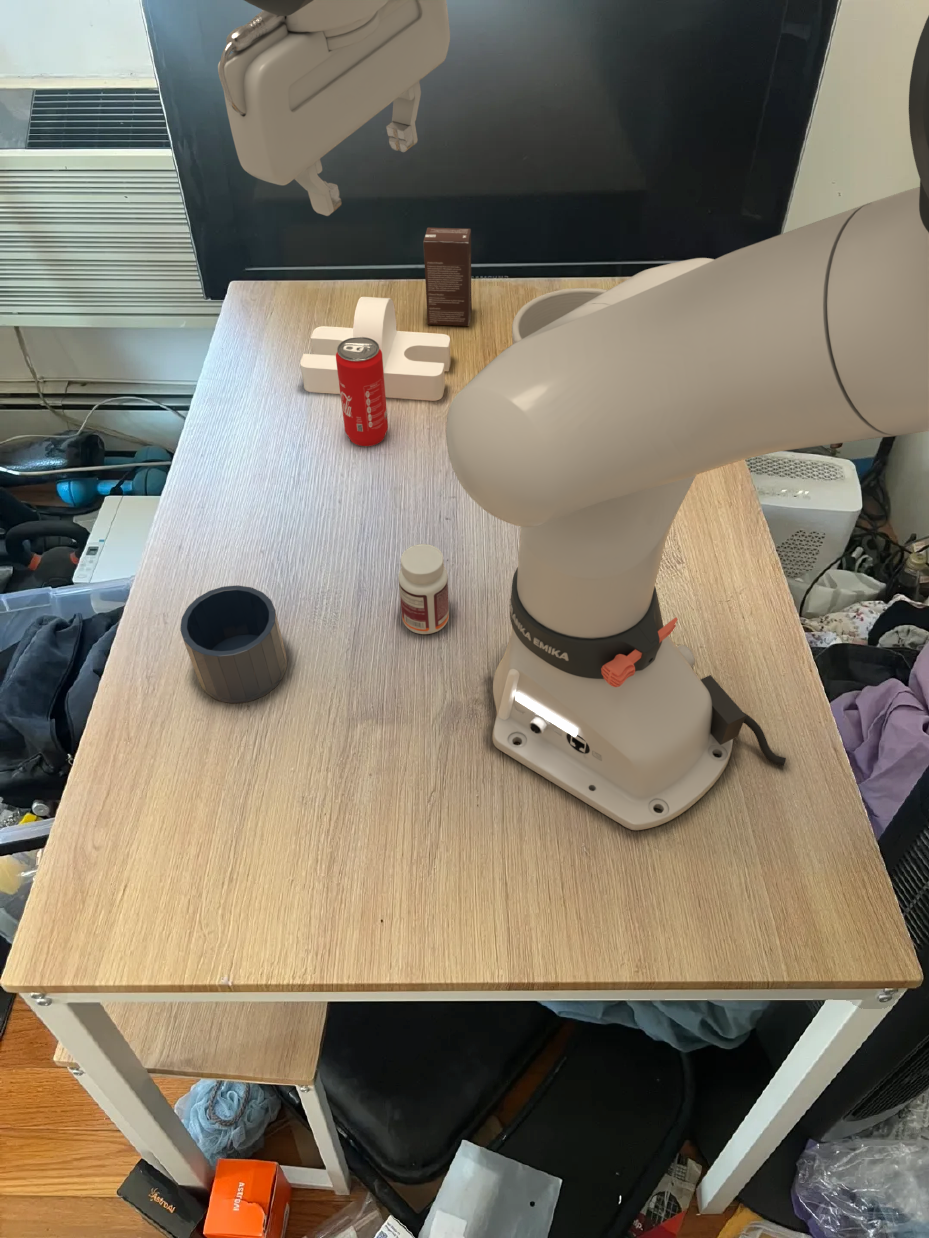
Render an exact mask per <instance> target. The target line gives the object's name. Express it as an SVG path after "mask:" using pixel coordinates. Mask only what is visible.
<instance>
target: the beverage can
mask: <svg viewBox="0 0 929 1238" xmlns="http://www.w3.org/2000/svg"><path fill="white" fill-rule="evenodd" d="M336 363H337V371H338V379H339V387H340V394H339V395H340V401H341V411H342V418H343V426H344V432H345V434H346V435H347V437H348V438H349V441H350V442H351V443H352V444H354V445H356V446H358V447H363V448H365V447H366V448H367V447H374V446H377V445H379V444H380V443H382V442H383V441H384V439H385V438H386V434H387V431H388V429H389V423H388V421H389V420H388V410H387V399H386V398H387V397H386V396H385V384H384V371H383V359H382V352H381V350H380V348H379V345H378V343H377V342H376V341H375V340H373V339H370V338H367V337H353V338H349V339H346V340H344V341H342V342H341V343H340V344H339V345H338V348H337V353H336Z"/></svg>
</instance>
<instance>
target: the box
mask: <svg viewBox="0 0 929 1238" xmlns="http://www.w3.org/2000/svg"><path fill="white" fill-rule="evenodd" d="M422 242H423V244H422V245H423V262H424V276H425V277H424V279H425V281H424V282H425V299H426V302H425V303H426V321H427V325H437V326H463V327H465V326H466V327H469V326H470V323H471V316H472V305H473V304H472V229H471V228H451V227H446V228H445V227H427V228H426V231H425V235H424V238H423V240H422Z"/></svg>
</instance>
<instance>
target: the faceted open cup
mask: <svg viewBox="0 0 929 1238" xmlns="http://www.w3.org/2000/svg"><path fill="white" fill-rule="evenodd" d="M179 629H180V633H181V637H182V639H183V642H184V645H185V648H186V650H187V654H188V656H189V659H190V661H191V665H192V667H193V670H194V673H195V675H196V678H197V681H198V683H199V685H200V687H201V689H202V690H203V692H205V693H206V695H208V696H209V697H211V698H213V699H215V700H217V701H220V702H223V703H227V704H243V703H249V702H251V701H252V702H253V701H255V700H258V699H260V698H262V697H264V696H266V695H268V694H270V692H272V691H273V690H274V689H275V688H276V687H277V686H278V685H279V684H280V683H281V681H282V679H283V678H284V676H285V673H286V671H287V665H288V660H287V651H286V648H285V644H284V640H283V636H282V631H281V628H280V623H279V618H278V615H277V611H276V608H275V606H274V602H273V600H272V599H270V597H268V596H267V594H265V592H263V591H261V590H258V589H256V588H254V587H251V586H246V585H245V586H244V585H239V584H238V585H226V586H220V587H217V588H214V589H210V590H208V591H207V592H205V593H203V594H201V595H199V596H197V598H195V599H194V600H193V601H192V602H191V603H190V604H189V605H188V606H187V607H186V609H185V611H184V613H183V615H182V617H181V619H180V628H179Z"/></svg>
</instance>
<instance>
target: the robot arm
mask: <svg viewBox="0 0 929 1238" xmlns="http://www.w3.org/2000/svg"><path fill="white" fill-rule="evenodd" d="M243 1H244V2H246V3H248V4H250V5H251V6H254V7H256V8H258V9H260V10H261V12H258V13H257V14H256V15H255V16H254V17H253V18H252V19H250V20H249V21H248V22H247V23H245V24H244V25H240V26H238V27H235V28H234V29H233V30H232V31H231V32H230V33H229V34H228V35H226V39H225V41H226V42H225V43H226V44H225V46H224V48H223V50H222V52H221V55H220V60H219V62H218V64H217V72H218V77H219V81H220V83H221V84H220V85H221V87H222V91H223V94H224V95H223V96H224V102H225V107H226V112H227V118H228V122H229V127H230V131H231V135H232V139H233V143H234V147H235V151H236V155H237V158H238V161H239V164H240V166H241V167H242V169H243V170H244V171H245V172H247V174H249V175H250V176H252V177H253V178H256V179H258V180H261V181H264V182H267V183H270V184H274V185H278V186H287V185H288V184H289V183H291V182H292V181H295V182H297V183H298V184H299V185H300V186H301V187H302V188H303V189H304V190H305V191H307V194H308V198H309V200H310V204H311V207H312V209H313V211H314V212H316V213H317V214H320V215H323V216H325V217H329V216H330V215H331V214H333V213H335V211H336V210H337V209H339V208H340V207H341V206H342V204H343V202H342V198H341V197H340V190H339V186H338V184H336V183H333V182H327V181H326V180H323V179H322V178H321V177H320V175H319V174H320V173H322V172H323V165H322V161H321V158H323V157H325V155H327V154H328V153H329V152H330V151H332V150H333V149H334V148H336V147H337V146H338V145H339V144H340V143H342V142H343V141H344V140H346V139H347V138H348V137H349V136H351V135H352V134H354V133H355V132H356V131H357V130H359V129H360V128H361V127H363V126H364V125H365V124H366V123H368V122H369V121H370V120H372V119H373V118H374V117H375V116H376V115H378V114H379V113H380V112H382V111H383V110H385V109H386V108H387V107H388V106H389V105H390V104H392V113H391V114H392V115H391V116H392V117H391V122H390V123H388V124H387V125H386V126H385V128H386V134H387V136H388V144H389V146H390V148H391V149H392V150H393V151H400V152H401V153H406V152H407V151H408V150H410V149H411V148H412V147H414V146H415V145H416V144H417V143H418V141H419V139H418V133H417V127H416V121H417V118H418V117H417V116H418V111H419V108H420V107H419V106H420V101H421V95H422V90H421V84H420V81H422V79H424V78H425V77H426V76H427V75H429V74H430V73H431V72H432V71H434V70H435V69H437V68H438V67H439V66H440V65H442V64H444V62H445V60H446V58H447V55H448V52H449V47H450V42H451V30H450V29H451V28H450V20H449V12H448V3H447V0H243ZM231 52H232V53H231ZM911 67H912V68H911V73H910V79H909V88H908V89H909V90H908V123H909V124H908V125H909V137H910V142H911V148H912V154H913V158H914V162H915V163H914V164H915V166H916V171H917V174H918V177H919V186H917V187H914V188H911V189H907V190H904V191H900V192H898V193H894V194H892V195H888V196H886V197H882V198H879V199H876V200H873V201H870V202H867V203H865V204H862V205H859V206H856V207H854V208H851V209H848V210H845V211H842V212H840V213H837V214H834V215H831V216H828V217H826V218H825V217H824V218H823V219H819V220H818V221H815V222H814V221H813V222H811V223H809V224H806V225H803V226H800V227H797V228H795V229H792V230H790V231H787V232H784V233H780V234H777V235H774V236H772V237H770V238H767V239H764V240H761V241H758V242H755V243H753V244H750V245H747V246H745V247H741V248H739V249H736V250H733V251H731V252H729V253H726V254H723V255H721V256H719V257H717V258H715V259H714V258H709V257H708V258H707V257H695V258H690V259H685V260H680V261H675V262H671V263H667V264H663V265H659V266H655V267H650V268H648V269H644V270H642V271H639V272H638V273H635V274H634V275H632V276H631V277H629V278H627V279H625V280H623V281H622V282H620V283H618V284H616V285H615V286H613V287H611V288H609V289H607V290H608V291H606V292H604V293H602V294H601V295H599V296H597V297H595V298H593V299H592V300H590V301H588V302H586V303H585V304H583V305H581V306H579V307H578V308H576V309H574V310H573V311H571V312H569V313H567V314H566V315H564V316H562V317H560V318H559V319H557V320H555V321H553V322H552V323H550V324H548V325H546V326H544V327H543V328H541V329H539V330H537V331H536V332H534V333H532V334H530V335H529V336H527V337H525V338H523V339H522V340H520V341H518V342H516V343H515V344H513V343H512V344H511V345H509V346H508V347H506V348H505V349H503V350H502V351H501V352H500V353H499V354H498V355H496V356H495V357H494V358H493V359H492V360H491V361H490V362H489V363H487V364H486V365H485V366H484V367H483V368H482V369H481V370H480V371H479V372H478V373H476V374H475V376H474V377H472V379H470V381H469V382H468V383H466V384H465V385H464V387H462V388H461V390H460V391H459V392H457V393H456V395H455V396H454V397H453V399H452V401H451V402H450V404H449V407H448V411H447V414H446V422H445V423H446V424H445V439H446V448H447V449H446V451H447V454H448V458H449V461H450V464H451V468H452V470H453V472H454V475H455V477H456V478H457V480H458V482H459V484H460V486H461V487H462V488H463V490H464V491H465V492H466V494H467V495H468V496H469V497H470V499H472V501H473V502H474V503H475V504H477V506H479V507H480V508H481V509H482V510H484V511H485V512H487V514H489V515H491V516H493V517H494V518H496V519H498V520H500V521H502V522H504V523H507V524H510V525H513V526H516V527H519V528H520V529H519V543H518V558H517V559H518V560H517V567H516V569H515V570H514V571H515V572H514V573H513V577H512V581H511V590H510V598H509V603H508V605H509V619H510V624H511V629H510V633H509V634H510V635H509V639H508V643H507V645H506V648H505V652H504V653H503V656H502V659H501V660H500V661H499V663H498V665H497V667H496V670H495V673H494V676H493V681H492V695H493V702H494V705H495V710H496V718H495V721H494V726H493V730H492V735H491V739H492V743H493V746H494V747H495V748H496V749H497V750H499V751H500V752H502V753H504V754H505V755H507V756H509V757H510V758H512V759H513V760H515V761H517V762H518V763H520V764H522V765H524V766H525V767H527V768H528V769H529V770H531V771H533V772H535V773H536V774H539V775H540V776H541V777H543V778H544V779H546V780H548V781H549V782H552V783H553V784H554V785H555V786H558V787H559V788H561V789H562V790H564V791H566V792H568V793H569V794H570V795H572V796H574V797H575V798H577V799H579V800H580V801H582V802H583V803H585V804H587V805H589V806H590V807H591V808H593V809H595V810H597V811H598V812H600V813H601V814H603V815H605V816H606V817H608V818H610V819H611V820H613V821H615V822H617V823H618V824H620V825H621V826H622V827H625V828H627V829H629V830H631V831H641V830H648V829H652V828H655V827H658V826H661V825H663V824H666V823H668V822H671V821H672V820H673V819H676V818H677V817H678V816H680V815H682V814H683V813H684V812H686V811H688V810H689V809H690V808H691V807H692V806H694V805H695V804H696V803H697V802H698V801H699V800H700V799H702V797H703V796H705V795H706V794H707V792H708V791H709V790H710V789H711V788H712V787H713V786H714V785H715V783H716V782H717V781H718V780H719V779H720V777H721V776H722V774H723V772H724V771H725V769H726V767H727V765H728V763H729V761H730V757H731V754H732V748H733V741H734V739H736V738H738V737H739V735H740V732H741V730H742V727H743V725H746V727H748V728H749V729H750V730H751V731H752V733H753V734H754V736H755V739H756V741H757V743H758V746H759V748H760V750H761V753H762V754H763V755H764V757H765V758H766V759H767V760H768V761H769V762H770V763H771V764H774V765H776V766H781V767H784V766H785V764H786V761H787V758H786V757H783V756H780V755H779V756H778V755H776V754H775V753H774V752H773V750H772V749H771V748H770V745H769V742H768V740H767V738H766V735H765V732H764V731H763V729H762V728H761V726H760V725H759V724H758V722H756V721H755V719H753V718H752V717H751V716H750V715H748V714H747V713H746V712H745V711H743V710H742V709H741V708H740V707H739V705H738V704H737V703H736V702H735V701H734V700H733V699H732V697H730V695H729V694H728V693H727V692H726V691H725V689H723V687H722V686H721V685H720V684H719V683H718V682H717V680H716V679H715V678H714V677H713V676H712V675H711V674H709V675H706V676H705V677H702V678H700V677H699V676H698V674H697V673H696V672H695V670H694V668H693V667H694V665H695V664H696V658H695V654H694V653H693V651H692V650H691V648H689V646H687V645H685V644H678V645H676V643H675V642H674V641H673V639H672V638H671V636H670V635H671V634H672V632H673V631H674V630H675V628H677V627H676V626H677V624H676V623H677V622H678V620H679V619H678V617H677V616H676V617H673V618H672V619H671V620H670V621H669V622H667V623H666V624H665V625H664V622H663V617H662V611H661V606H660V601H659V596H658V591H657V588H656V582H657V578H658V574H659V570H660V566H661V562H662V558H663V554H664V550H665V546H666V542H667V540H668V536H669V534H670V530H671V528H672V526H673V523H674V520H675V519H676V516H677V514H678V512H679V510H680V508H681V506H682V504H683V502H684V500H685V497H686V496H687V494H688V492H689V490H690V489H691V487H692V484H693V483H694V481H695V479H696V476H697V475H700V474H704V473H706V472H710V471H712V470H716V469H718V468H722V467H725V466H728V465H732V464H734V463H737V462H741V461H744V460H748V459H752V458H755V457H760V456H764V455H769V454H773V453H778V452H779V453H780V452H785V451H792V450H800V449H807V448H812V447H813V448H814V447H822V446H827V445H836V444H844V443H851V442H858V441H859V442H860V441H864V440H865V441H866V440H874V439H880V438H882V439H883V438H889V437H897V436H906V435H912V434H919V433H926V432H929V15H928V16H927V18H926V20H925V23H924V26H923V28H922V30H921V33H920V36H919V38H918V41H917V46H916V48H915V52H914V57H913V61H912V66H911ZM516 742H517V743H520V744H518V745H517V744H514V743H516ZM715 755H717V756H719V757H717V756H715ZM655 809H658V810H660V811H661V812H657V811H655Z"/></svg>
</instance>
